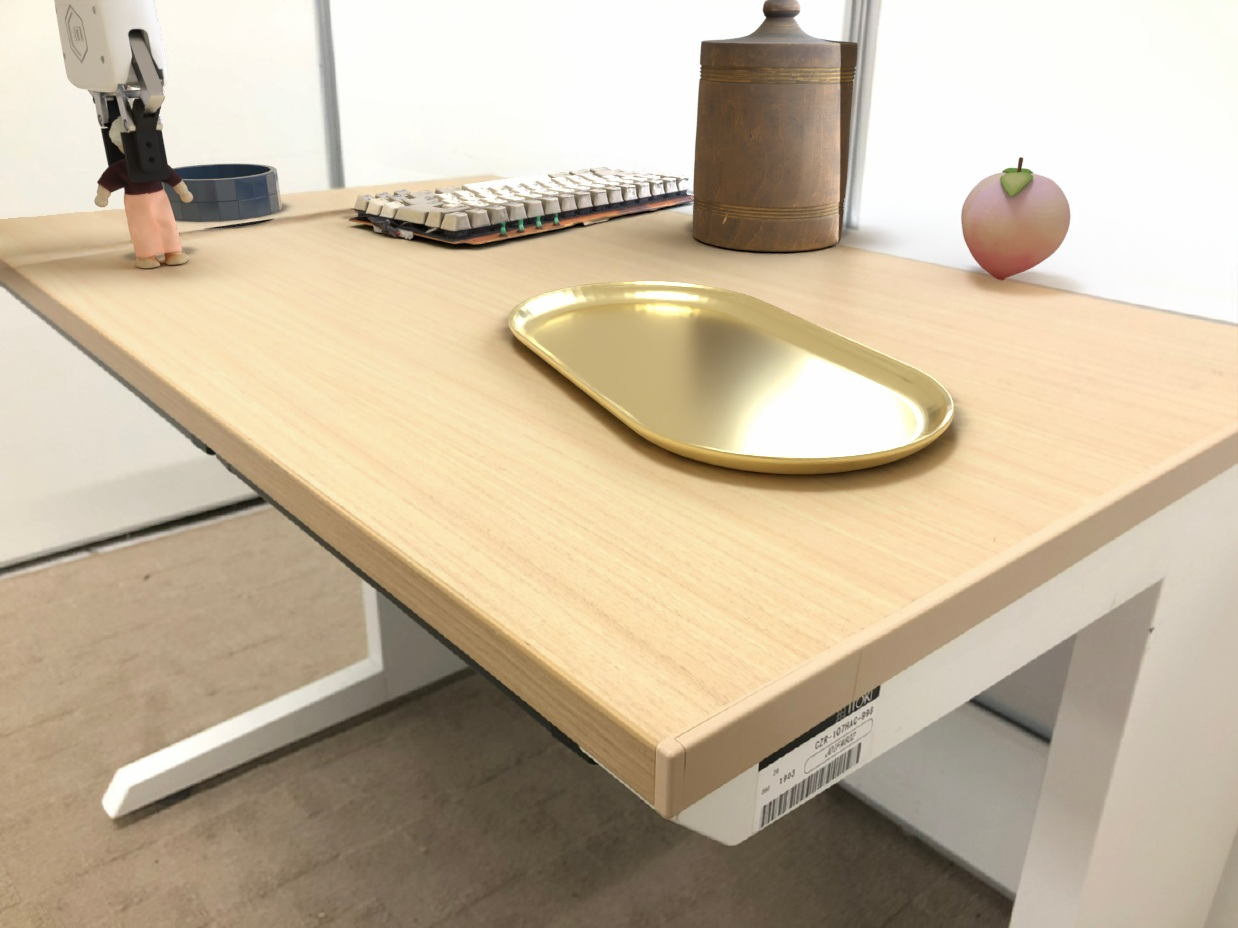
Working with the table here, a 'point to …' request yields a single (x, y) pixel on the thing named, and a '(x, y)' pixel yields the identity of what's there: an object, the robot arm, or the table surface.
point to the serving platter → (733, 377)
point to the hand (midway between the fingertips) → (139, 175)
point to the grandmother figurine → (145, 209)
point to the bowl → (226, 193)
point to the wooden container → (773, 137)
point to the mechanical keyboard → (519, 204)
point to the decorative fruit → (1014, 221)
